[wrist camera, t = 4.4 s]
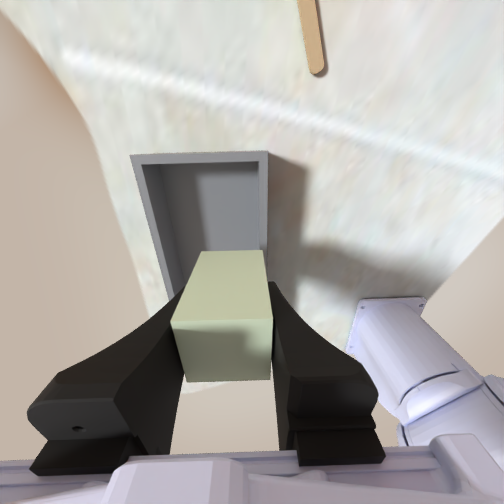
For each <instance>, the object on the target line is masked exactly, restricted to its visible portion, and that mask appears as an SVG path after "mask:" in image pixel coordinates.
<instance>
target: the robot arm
mask: <svg viewBox="0 0 504 504" xmlns="http://www.w3.org/2000/svg"><path fill="white" fill-rule="evenodd" d="M267 283H268V289H269V296H270V302H271V309H272V316H273V329H272V351H271V361H272V369H273V379H274V390H275V401H276V413H277V424H278V437H279V448H280V449H279V450H280V451H262V452H261V451H259V452H235V453H234V452H233V453H205V454H177V455H169V454H170V448H171V442H172V435H173V429H174V423H175V418H176V412H177V407H178V402H179V396H180V391H181V386H182V382H183V377H184V370H183V366H182V362H181V359H180V355H179V351H178V348H177V344H176V340H175V337H174V333H173V329H172V325H171V322H170V321H171V319H172V317H173V314H174V312H175V310H176V308H177V305H178V303H179V301H180V299H181V296H182V294H183V292H184V289H185V287H186V285H187V284H186V285H185V286H184V287H183V288H182V289H181V290H180V291H179V292H178V293H177V294H176V295H175V296H174V297H173V298H172V299H171V300H170V301H169V302H168V303H167V304H166V305H165V306H164V307H163V308H162V309H160V310H159V311H158V312H157V313H156V314H155V315H154V316H152V317H151V318H150V319H149V320H147V321H146V322H145V323H144V324H142V325H141V326H140V327H138V328H137V329H135V330H134V331H133V332H131V333H130V334H128V335H126V336H125V337H123V338H122V339H120V340H119V341H117V342H116V343H114V344H112V345H111V346H109V347H107V348H106V349H104V350H102V351H100V352H99V353H97V354H95V355H93V356H91V357H89V358H87V359H86V360H83V361H82V362H80V363H77V364H75V365H73V366H71V367H69V368H67V369H65V370H63V371H61V372H59V373H57V375H56V376H55V377H54V378H53V379H52V381H51V382H50V383H49V384H48V385H47V386H46V388H45V389H44V390H43V391H42V392H41V394H40V395H39V396H38V397H37V398H36V399H35V401H34V402H33V403H32V404H31V405H30V407H29V408H28V411H27V416H28V420H29V422H30V423H31V424H32V425H33V426H34V427H35V428H36V429H37V430H38V431H39V432H40V433H41V434H42V435H43V436H44V437H45V438H46V439H47V440H48V441H47V443H46V444H45V446H44V447H43V449H42V450H41V452H40V453H39V455H38V456H37V457H36V459H35V460H11V461H0V504H504V378H500V377H496V376H494V375H488V376H486V377H483V376H481V375H480V374H479V373H478V372H477V371H476V370H474V368H473V367H471V366H470V365H469V364H468V363H467V362H466V361H465V360H464V359H463V358H462V357H461V356H460V355H459V354H458V353H457V352H456V351H455V350H454V349H453V348H452V347H451V346H450V345H449V344H448V343H447V342H446V341H445V340H444V339H443V338H442V337H441V336H440V335H439V334H438V333H437V332H435V331H434V330H433V329H432V328H431V327H430V326H429V325H428V324H427V323H426V322H425V321H424V320H423V319H422V318H421V317H420V315H421V313H422V311H423V309H424V307H425V305H426V303H427V300H426V299H425V298H424V297H413V298H383V299H362V300H360V301H359V303H358V306H357V310H356V314H355V317H354V321H353V324H352V328H351V332H350V335H349V339H348V342H347V346H346V353H347V354H354V356H355V357H356V359H357V360H355V359H354V358H352V357H350V356H349V355H347V354H345V353H344V352H342V351H341V350H339V349H338V348H336V347H335V346H333V345H332V344H331V343H329V342H328V341H327V340H325V339H324V338H323V337H322V336H320V335H319V334H318V333H317V332H315V331H314V330H313V329H312V328H311V327H310V326H309V325H308V324H307V323H306V322H305V321H304V320H303V319H302V318H301V317H300V316H299V315H298V314H297V313H296V312H295V310H294V309H293V308H292V307H291V306H290V304H289V303H288V302H287V300H286V299H285V298H284V296H283V295H282V293H281V292H280V290H279V289H278V287H277V285H276V283H275V282H267ZM362 306H363V307H362ZM377 400H378V401H379V402H380V403H381V405H382V406H383V407H384V408H385V409H386V410H387V411H389V412H390V413H391V414H392V415H393V416H395V417H397V418H398V419H399V420H400V423H399V424H398V426H397V438H398V444H399V446H397V447H382V445H381V443H380V441H379V439H378V436H377V434H376V432H375V430H374V429H375V428H376V424H375V422H374V420H373V417H372V416H371V413H372V410H373V408H374V407H375V404H376V403H377Z"/></svg>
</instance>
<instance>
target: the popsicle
mask: <svg viewBox="0 0 504 504" xmlns="http://www.w3.org/2000/svg"><path fill="white" fill-rule="evenodd" d="M297 3H298V8H299V14H300V20H301V25H302V31H303V37H304V42H305V48H306V54H307V59H308V65H309V70H310V73H311V74H317V73H319V72H320V71H321V70H322V69H323V67H324V59H323V52H322V46H321V39H320V32H319V25H318V19H317V12H316V5H315V0H297Z"/></svg>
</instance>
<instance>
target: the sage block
mask: <svg viewBox="0 0 504 504" xmlns="http://www.w3.org/2000/svg"><path fill="white" fill-rule="evenodd" d="M170 322H171V325H172V329H173V333H174V337H175V340H176V344H177V348H178V351H179V355H180V359H181V362H182V366H183V370H184V373H185V377H186V381H187V382H216V381H244V380H245V381H248V380H270V373H271V351H272V329H273V316H272V309H271V302H270V296H269V289H268V283H267V276H266V270H265V263H264V257H263V250H239V251H201V253H200V256H199V258H198V260H197V262H196V265H195V267H194V269H193V271H192V274H191V276H190V278H189V280H188V283H187V285H186V287H185V289H184V292H183V294H182V296H181V299H180V301H179V303H178V305H177V308H176V310H175V312H174V314H173V317H172V319H171V321H170Z"/></svg>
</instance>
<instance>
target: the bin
mask: <svg viewBox="0 0 504 504" xmlns="http://www.w3.org/2000/svg"><path fill="white" fill-rule="evenodd" d="M130 159H131V162H132V166H133V170H134V173H135V177H136V181H137V185H138V188H139V192H140V196H141V199H142V203H143V207H144V210H145V214H146V218H147V221H148V225H149V229H150V232H151V236H152V240H153V243H154V247H155V251H156V254H157V258H158V262H159V265H160V269H161V273H162V276H163V280H164V284H165V287H166V291H167V295H168V298H169V301H170V300H171V299H172V298H173V297H174V296H175V295H176V294H177V293H178V292H179V291H180V290H181V289H182V288H183V287H184V286H185V285H186V284H187V283H188V280H189V278H190V276H191V274H192V271H193V269H194V267H195V265H196V262H197V260H198V258H199V256H200V253H201V251H239V250H263V257H264V263H265V270H266V276H267V207H268V151H229V152H193V153H157V154H137V155H130Z"/></svg>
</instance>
